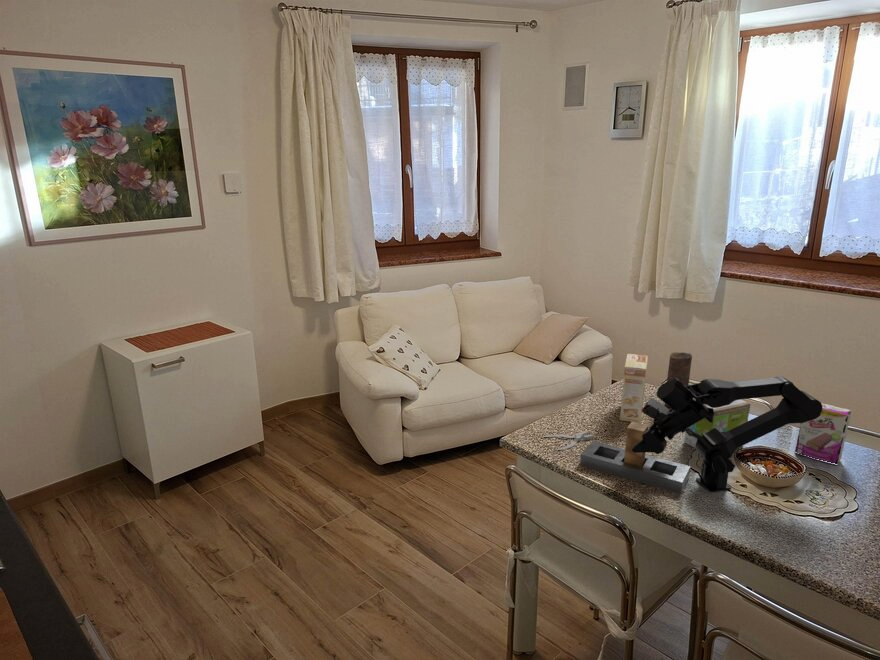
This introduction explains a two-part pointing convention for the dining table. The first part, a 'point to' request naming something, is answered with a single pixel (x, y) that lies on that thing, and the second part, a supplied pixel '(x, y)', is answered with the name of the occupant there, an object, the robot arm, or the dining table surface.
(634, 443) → the peg
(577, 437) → the pliers
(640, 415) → the coffeecake box
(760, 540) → the dining table surface
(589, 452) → the grey long block
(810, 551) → the dining table surface
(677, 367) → the candle
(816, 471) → the dining table surface
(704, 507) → the dining table surface
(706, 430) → the tea box
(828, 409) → the candy bar box
